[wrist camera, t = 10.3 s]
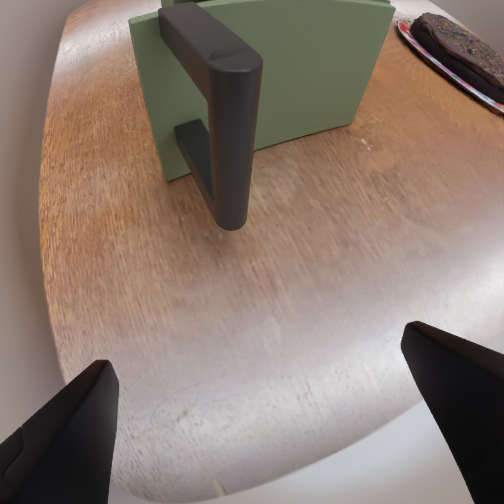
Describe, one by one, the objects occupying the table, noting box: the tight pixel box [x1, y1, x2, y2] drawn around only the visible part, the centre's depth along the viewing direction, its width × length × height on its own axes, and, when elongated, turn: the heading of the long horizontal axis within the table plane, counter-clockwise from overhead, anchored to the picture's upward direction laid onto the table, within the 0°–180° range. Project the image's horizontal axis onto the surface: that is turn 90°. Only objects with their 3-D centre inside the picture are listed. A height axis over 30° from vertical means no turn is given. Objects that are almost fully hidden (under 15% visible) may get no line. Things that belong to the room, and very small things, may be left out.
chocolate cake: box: [397, 12, 504, 114], centre depth 32 cm, size 28×28×7 cm
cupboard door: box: [128, 0, 396, 231], centre depth 15 cm, size 8×16×12 cm, turn 117°
